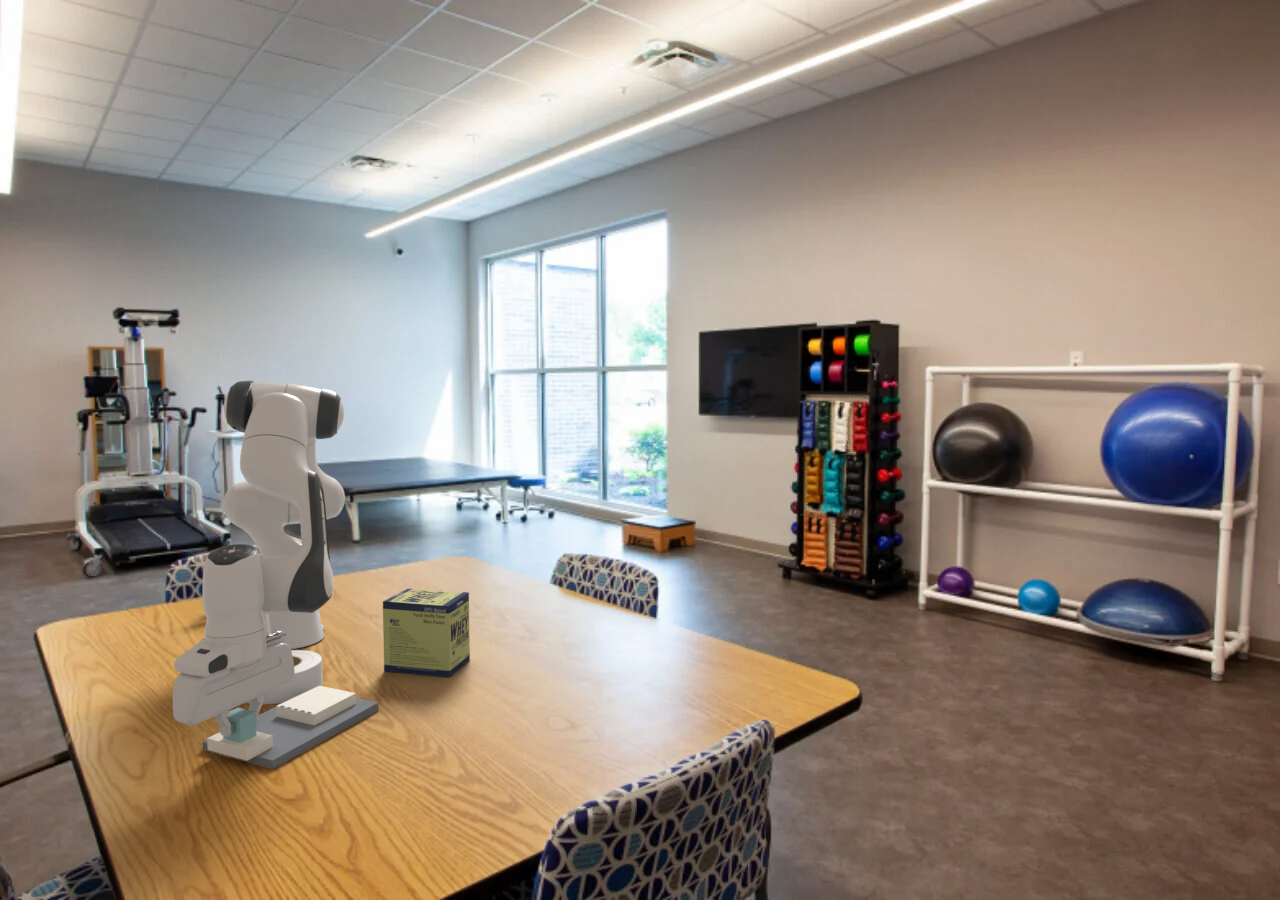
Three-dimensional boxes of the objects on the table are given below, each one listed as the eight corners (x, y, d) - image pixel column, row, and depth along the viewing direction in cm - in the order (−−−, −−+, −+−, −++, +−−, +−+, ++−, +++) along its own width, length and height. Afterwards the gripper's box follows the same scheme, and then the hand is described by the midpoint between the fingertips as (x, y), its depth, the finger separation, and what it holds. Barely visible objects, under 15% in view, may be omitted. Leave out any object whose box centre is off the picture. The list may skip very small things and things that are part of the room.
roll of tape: (239, 681, 159) (238, 655, 159) (322, 670, 165) (321, 644, 165) (232, 711, 145) (231, 682, 144) (323, 698, 151) (322, 670, 150)
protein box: (450, 678, 161) (449, 605, 159) (382, 672, 164) (380, 600, 162) (471, 660, 171) (470, 591, 170) (407, 654, 174) (405, 587, 173)
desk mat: (202, 750, 129) (202, 741, 129) (314, 696, 151) (314, 688, 151) (272, 769, 123) (272, 760, 123) (378, 710, 145) (378, 702, 145)
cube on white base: (207, 749, 126) (205, 714, 126) (234, 736, 131) (232, 702, 130) (247, 760, 123) (245, 724, 122) (273, 747, 127) (271, 712, 127)
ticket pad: (276, 716, 139) (276, 705, 138) (319, 695, 148) (319, 685, 148) (314, 725, 135) (314, 713, 135) (356, 703, 144) (355, 692, 144)
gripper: (274, 625, 136) (278, 701, 137) (163, 664, 117) (168, 752, 118) (301, 630, 133) (304, 707, 135) (192, 670, 115) (197, 760, 116)
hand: (240, 728), depth 126 cm, fingers closed on cube on white base, 3 cm apart
